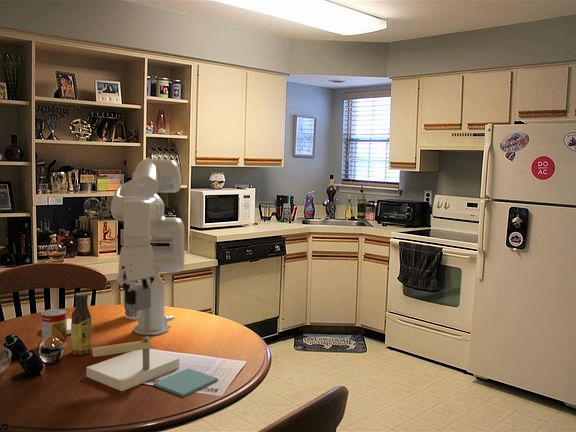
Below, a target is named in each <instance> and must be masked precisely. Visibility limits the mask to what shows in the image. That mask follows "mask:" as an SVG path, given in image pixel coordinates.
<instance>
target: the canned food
mask: <svg viewBox="0 0 576 432" xmlns="http://www.w3.org/2000/svg"><path fill="white" fill-rule="evenodd" d="M67 313H68V312H67V310H66V309H63V308H52V309H51V308H50V309H47V310H43V311H42V312H41V314H40V318H41V341H42V340H43V339H45V338H47V337H54V338H57V339H59V340H60V341H61V342H62V343H63V345H64V348H63V349H65V348H66V347H68V334H67V319H68V316H67Z"/></svg>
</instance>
